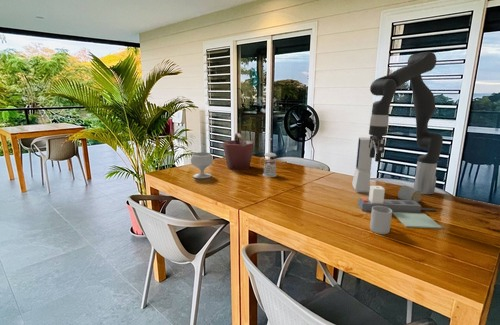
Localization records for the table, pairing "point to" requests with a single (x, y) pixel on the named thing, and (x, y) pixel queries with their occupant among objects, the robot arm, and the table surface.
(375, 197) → the block
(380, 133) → the robot arm
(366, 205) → the power strip
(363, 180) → the electronic device
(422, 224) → the rubber mat
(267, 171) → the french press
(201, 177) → the chalice
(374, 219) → the cup
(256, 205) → the table surface
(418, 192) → the ceramic mug
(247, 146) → the bucket
